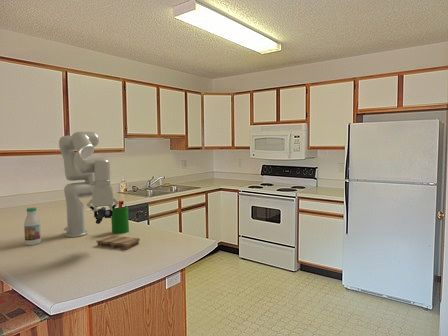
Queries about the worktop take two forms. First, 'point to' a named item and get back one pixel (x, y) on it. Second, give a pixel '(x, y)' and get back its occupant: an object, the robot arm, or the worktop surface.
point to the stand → (118, 241)
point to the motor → (120, 219)
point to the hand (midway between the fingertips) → (103, 217)
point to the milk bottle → (32, 228)
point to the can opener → (101, 215)
